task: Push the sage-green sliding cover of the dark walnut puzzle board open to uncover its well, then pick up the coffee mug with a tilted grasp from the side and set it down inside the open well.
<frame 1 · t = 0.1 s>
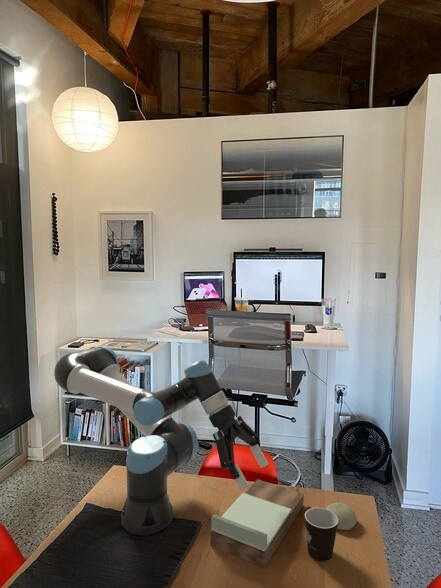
hand: (255, 476, 119), 15 cm above the table, tool tilted 35°, fingers open, 13 cm apart
coffee mug: (319, 549, 112), on the table
puzzle board: (260, 524, 122), on the table
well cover: (252, 513, 117), point 6 cm above the table, slide at 0.0 cm
sea urchin shell: (340, 523, 123), on the table
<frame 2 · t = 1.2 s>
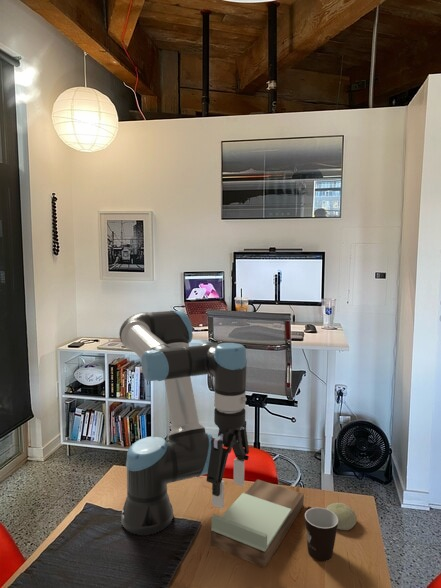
hand: (228, 494, 103), 20 cm above the table, tool pointing down, fingers open, 10 cm apart
nothing on the table moved.
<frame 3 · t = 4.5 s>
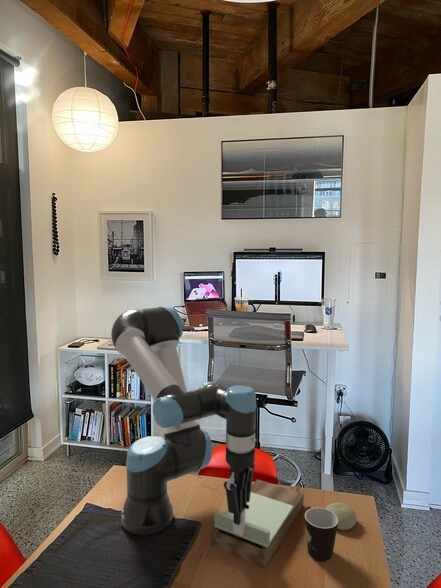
hand: (238, 532, 109), 6 cm above the table, tool pointing down, fingers closed
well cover: (255, 510, 118), point 6 cm above the table, slide at 1.7 cm, touching gripper
everything else where it was.
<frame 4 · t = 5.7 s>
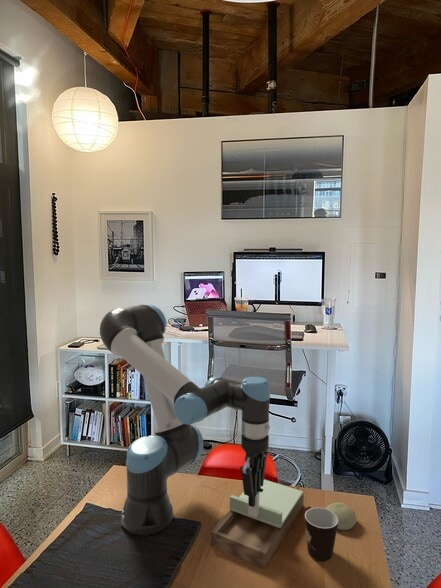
hand: (253, 514, 117), 6 cm above the table, tool pointing down, fingers closed
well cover: (267, 495, 125), point 6 cm above the table, slide at 10.4 cm, touching gripper
everything else where it was.
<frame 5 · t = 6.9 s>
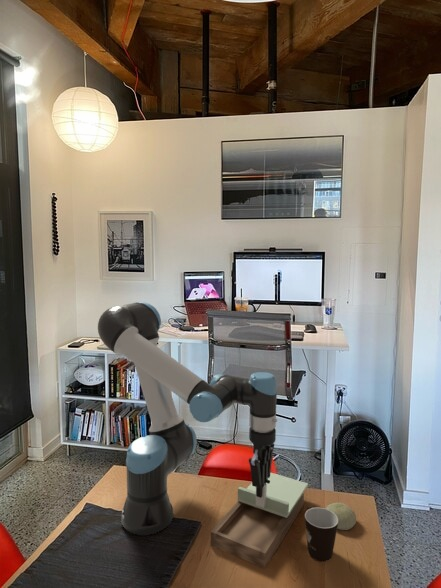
hand: (260, 504, 121), 6 cm above the table, tool pointing down, fingers closed
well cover: (274, 487, 130), point 6 cm above the table, slide at 15.4 cm, touching gripper
everything else where it was.
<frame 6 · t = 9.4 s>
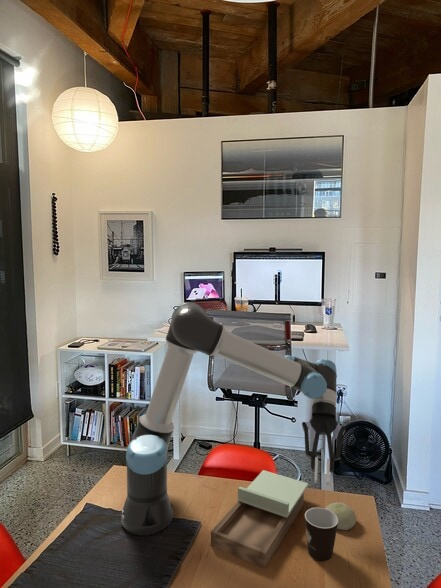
hand: (321, 482, 119), 14 cm above the table, tool tilted 45°, fingers open, 3 cm apart
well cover: (274, 486, 130), point 6 cm above the table, slide at 15.5 cm
everything else where it was.
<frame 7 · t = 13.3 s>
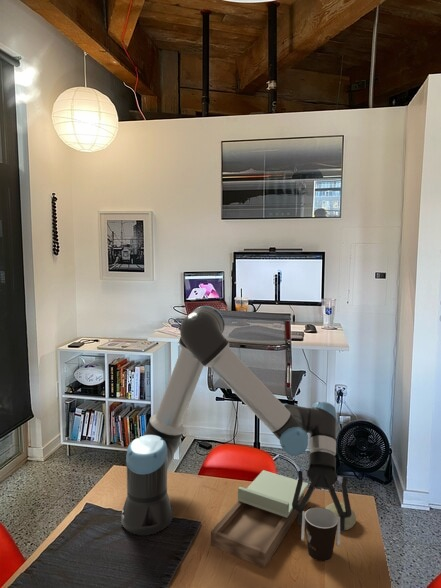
hand: (320, 542, 108), 4 cm above the table, tool tilted 45°, fingers closed on coffee mug, 8 cm apart
coffee mug: (319, 549, 112), on the table, touching gripper
everything else where it was.
when the fingers open (8 cm above the table, at t = 18.2 s): coffee mug drops 1 cm, resting on puzzle board.
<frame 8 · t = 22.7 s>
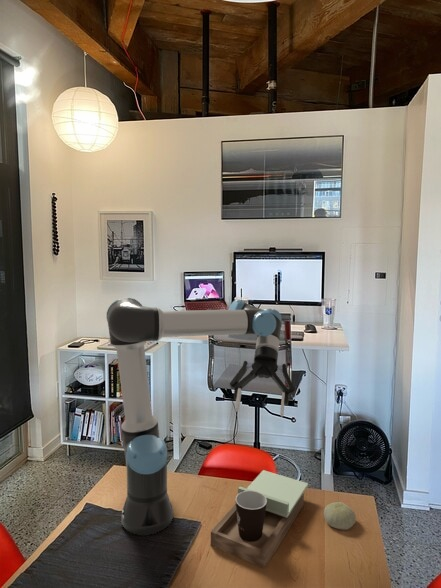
hand: (258, 412, 124), 32 cm above the table, tool tilted 45°, fingers open, 13 cm apart
coffee mug: (251, 530, 116), point 2 cm above the table, touching puzzle board
everything else where it was.
at the end: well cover slide at 15.5 cm; coffee mug inside the target area on the puzzle board (0.2 cm from its centre), point 1.8 cm above the puzzle board's base; coffee mug tilted 0° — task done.
